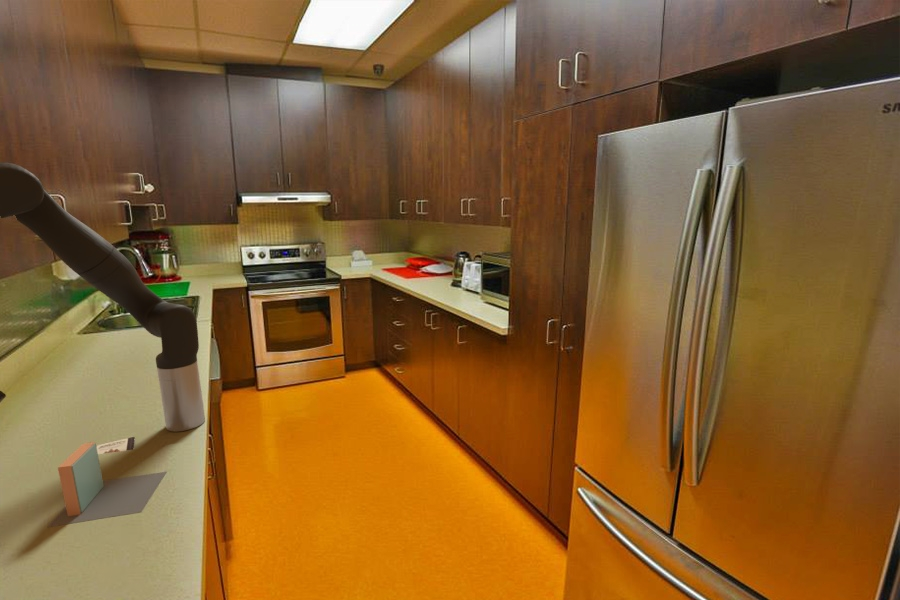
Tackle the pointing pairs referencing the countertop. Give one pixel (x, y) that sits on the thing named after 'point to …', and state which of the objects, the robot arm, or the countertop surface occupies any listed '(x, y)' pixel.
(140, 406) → the countertop surface
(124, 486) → the mat
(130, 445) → the chocolate bar
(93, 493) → the tile
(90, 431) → the countertop surface
